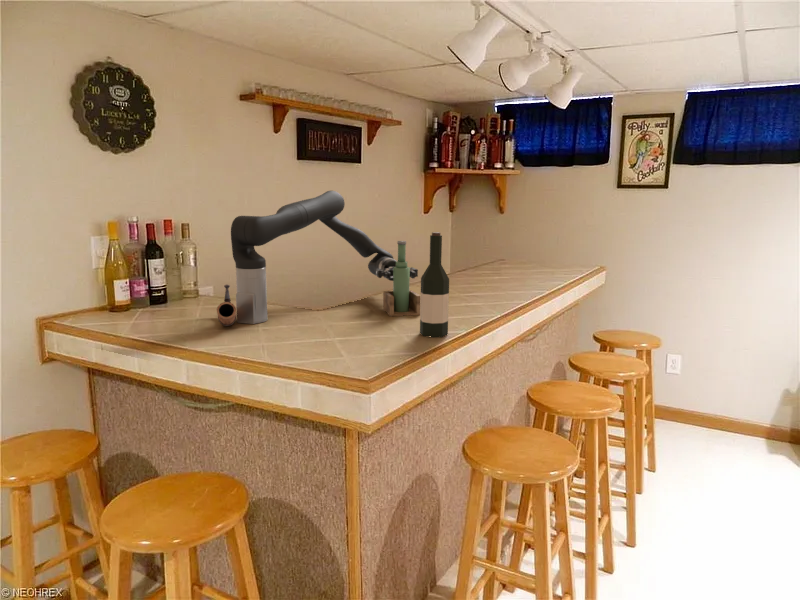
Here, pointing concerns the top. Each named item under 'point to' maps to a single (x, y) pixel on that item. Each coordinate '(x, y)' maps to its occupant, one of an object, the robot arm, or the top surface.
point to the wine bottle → (434, 293)
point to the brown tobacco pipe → (226, 310)
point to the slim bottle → (401, 280)
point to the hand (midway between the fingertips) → (401, 275)
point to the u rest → (413, 304)
